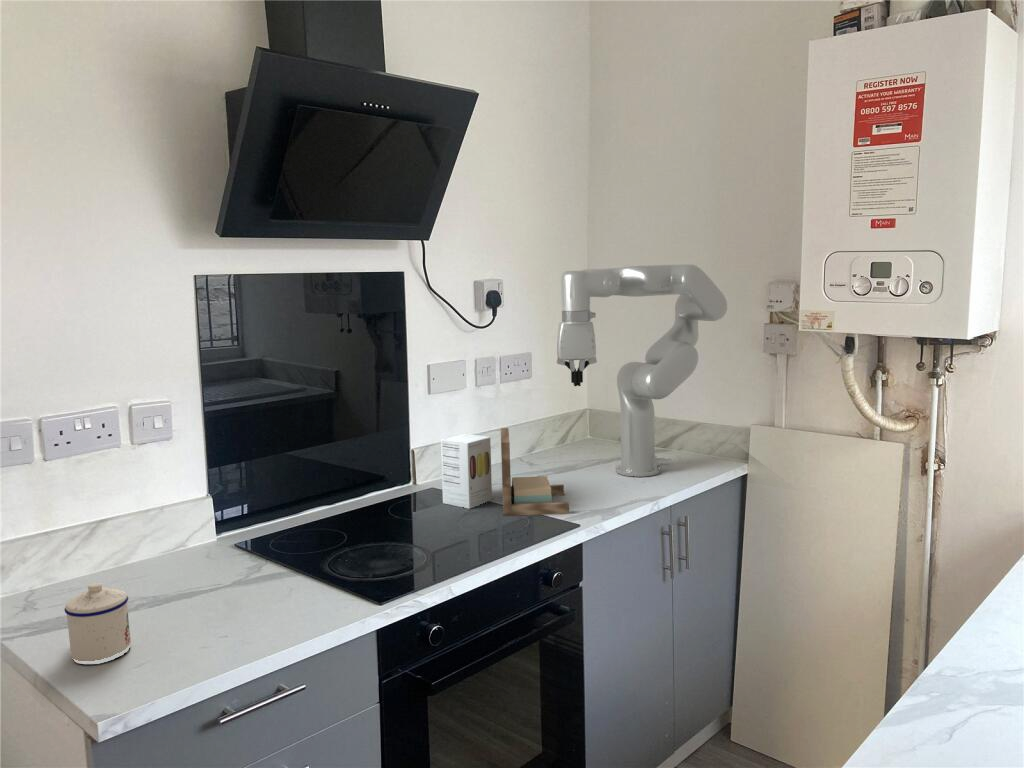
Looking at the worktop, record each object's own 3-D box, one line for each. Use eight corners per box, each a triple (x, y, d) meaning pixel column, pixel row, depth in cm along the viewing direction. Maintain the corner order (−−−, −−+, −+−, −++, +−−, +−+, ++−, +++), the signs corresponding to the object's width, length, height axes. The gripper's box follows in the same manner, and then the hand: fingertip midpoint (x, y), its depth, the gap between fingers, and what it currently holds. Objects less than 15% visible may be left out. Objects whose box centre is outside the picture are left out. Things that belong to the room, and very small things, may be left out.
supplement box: (469, 509, 206) (467, 443, 204) (441, 504, 212) (439, 439, 209) (493, 500, 214) (491, 436, 211) (466, 495, 219) (463, 432, 217)
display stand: (563, 493, 218) (562, 426, 215) (569, 513, 200) (568, 440, 198) (502, 495, 217) (500, 428, 215) (503, 515, 200) (501, 442, 198)
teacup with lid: (142, 652, 133) (135, 583, 132) (82, 673, 127) (74, 600, 125) (113, 630, 142) (106, 565, 140) (55, 649, 135) (47, 581, 134)
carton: (547, 498, 215) (546, 476, 214) (551, 512, 203) (551, 488, 202) (512, 500, 214) (511, 477, 213) (514, 514, 202) (514, 490, 201)
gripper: (602, 315, 225) (602, 382, 228) (547, 317, 225) (548, 384, 228) (605, 317, 218) (606, 386, 220) (548, 319, 218) (550, 388, 220)
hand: (577, 385), depth 224 cm, fingers closed
